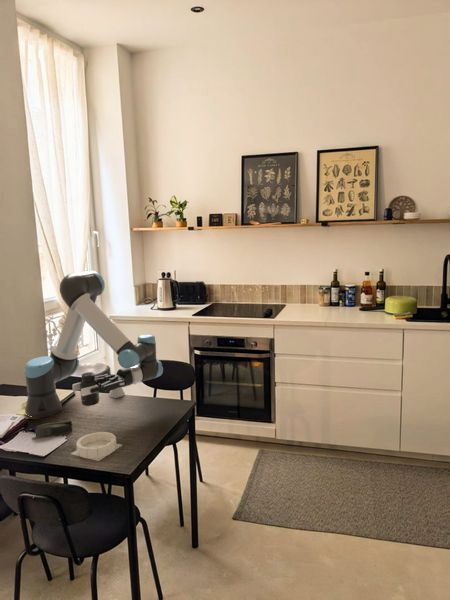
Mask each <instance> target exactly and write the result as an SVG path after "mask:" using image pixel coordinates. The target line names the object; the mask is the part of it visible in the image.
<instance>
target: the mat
mask: <svg viewBox="0 0 450 600" xmlns="http://www.w3.org/2000/svg"><path fill="white" fill-rule="evenodd" d="M122 446H123V444H121V443H118V442H116V449H115V451H116V450H117V449H119V448H121V447H122ZM70 455H73V456H77V457H80V456H79V455H78V453H77V449H76V450H74V451H72V452H71V453H70ZM105 457H107V456H103V457H100V458H90V459H89V460H92V461H97V462H100V461H101V460H103V459H104V458H105Z"/></svg>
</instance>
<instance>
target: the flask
mask: <svg viewBox="0 0 450 600" xmlns="http://www.w3.org/2000/svg"><path fill="white" fill-rule="evenodd" d="M125 395H126V393H125V391H124V389H123V387H120V388H117V389H114V390H111V391H109V394H108V396H109V397H110V398H113V399H119V398H122V397H124V396H125Z"/></svg>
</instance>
